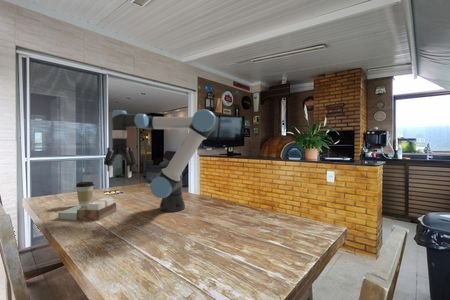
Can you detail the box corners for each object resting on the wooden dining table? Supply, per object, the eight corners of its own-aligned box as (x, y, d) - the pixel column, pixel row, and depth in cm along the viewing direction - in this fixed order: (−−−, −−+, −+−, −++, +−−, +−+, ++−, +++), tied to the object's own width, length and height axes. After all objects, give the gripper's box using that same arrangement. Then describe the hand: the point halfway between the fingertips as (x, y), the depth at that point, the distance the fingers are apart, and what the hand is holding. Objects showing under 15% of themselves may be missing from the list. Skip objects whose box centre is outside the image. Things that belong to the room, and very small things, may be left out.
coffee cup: (97, 204, 150) (97, 181, 149) (87, 208, 140) (86, 184, 140) (83, 203, 151) (83, 181, 150) (72, 208, 141) (71, 183, 141)
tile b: (105, 207, 125) (105, 201, 125) (98, 210, 119) (97, 204, 119) (94, 206, 126) (94, 201, 126) (87, 209, 120) (87, 204, 120)
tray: (97, 210, 136) (97, 204, 136) (76, 219, 119) (76, 213, 119) (81, 210, 137) (81, 204, 136) (58, 219, 120) (58, 212, 120)
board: (116, 211, 134) (116, 202, 134) (98, 220, 118) (98, 210, 118) (96, 210, 135) (96, 202, 135) (77, 219, 119) (76, 210, 119)
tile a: (113, 203, 133) (113, 198, 133) (107, 206, 127) (107, 200, 127) (103, 203, 134) (103, 197, 134) (97, 205, 128) (97, 200, 128)
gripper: (142, 138, 131) (142, 176, 132) (104, 138, 133) (105, 176, 134) (136, 137, 124) (136, 178, 124) (96, 138, 126) (96, 177, 126)
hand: (120, 177), depth 129 cm, fingers open, 10 cm apart
